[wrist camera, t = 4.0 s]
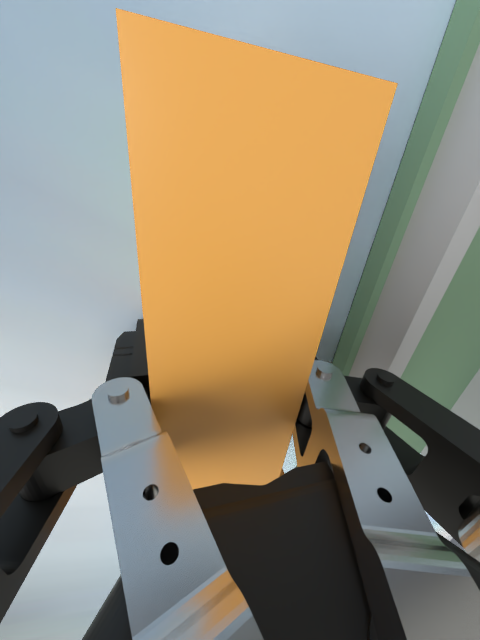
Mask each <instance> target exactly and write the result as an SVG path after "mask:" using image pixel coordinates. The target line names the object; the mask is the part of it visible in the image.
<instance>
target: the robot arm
mask: <svg viewBox="0 0 480 640" xmlns="http://www.w3.org/2000/svg"><path fill="white" fill-rule="evenodd" d="M392 415H393V416H394V417H395V418H396V419H398V420H399V421H400V422H402V423H403V424H404V425H406V426H407V427H408V428H409V429H411V430H412V431H413V432H415V433H416V434H417V435H418V436H420V437H421V438H422V439H423V440H424V441H425V443H426V445H427V447H428V453H427V454H426V456H423V455H421V454H420V453H418V452H417V451H416V450H415V449H413V448H412V447H411V446H410V445H409V444H407V443H406V442H405V441H404V440H403V439H401V438H400V437H399V436H398V435H396V434H395V433H394V432H393V431H392V430H390V429H389V428H388V427H387V426H386V425H387V423H388V421H389V420H390V418H391V416H392ZM293 439H294V446H295V453H296V459H297V467H296V468H294V469H292V470H291V471H289V472H287V473H285V474H284V475H282V476H280V477H278V478H277V479H275V480H273V481H271V482H270V483H268V484H266V485H247V484H231V483H221V484H216V485H212V486H207V487H202V488H197V489H192V487H191V485H190V482H189V480H188V478H187V475H186V473H185V471H184V469H183V466H182V464H181V462H180V459H179V457H178V455H177V452H176V450H175V448H174V446H173V443H172V441H171V439H170V437H169V435H168V433H167V432H166V431H163V432H162V431H161V429H160V426H159V424H158V421H157V419H156V417H155V414H154V412H153V409H152V407H151V398H150V387H149V376H148V364H147V353H146V342H145V331H144V319H138V321H137V328H136V331H131V332H124V333H123V334H122V335H121V336H120V337H119V338H118V339H117V340H116V344H115V349H114V352H113V356H112V359H111V363H110V367H109V370H108V374H107V378H106V382H105V383H103V384H102V385H100V386H99V387H98V388H97V389H96V390H95V392H94V393H93V395H92V399H90V400H88V401H86V402H84V403H82V404H79V405H77V406H74V407H71V408H68V409H64V410H61V411H58V410H57V408H56V407H55V406H54V405H52V404H50V403H45V402H36V403H30V404H26V405H23V406H20V407H17V408H15V409H13V410H11V411H9V412H8V413H6V414H5V415H3V416H2V417H0V623H1V621H2V619H3V617H4V616H5V614H6V612H7V610H8V609H9V607H10V605H11V603H12V601H13V600H14V598H15V596H16V594H17V592H18V591H19V589H20V587H21V585H22V583H23V582H24V580H25V578H26V576H27V574H28V573H29V571H30V569H31V567H32V565H33V564H34V562H35V560H36V558H37V556H38V555H39V553H40V551H41V549H42V547H43V546H44V544H45V542H46V540H47V538H48V537H49V535H50V533H51V531H52V529H53V528H54V526H55V524H56V522H57V520H58V519H59V517H60V515H61V513H62V511H63V510H64V508H65V506H66V504H67V502H68V501H69V499H70V497H71V495H72V493H73V492H74V490H75V488H76V486H77V484H79V483H81V482H84V481H86V480H88V479H90V478H92V477H94V476H96V475H98V474H101V473H103V474H104V480H105V486H106V491H107V497H108V503H109V509H110V514H111V520H112V526H113V531H114V537H115V543H116V549H117V554H118V560H119V566H120V572H121V575H120V577H119V579H118V580H117V582H116V584H115V585H114V587H113V589H112V590H111V592H110V594H109V595H108V597H107V599H106V600H105V602H104V604H103V605H102V607H101V609H100V610H99V612H98V614H97V615H96V617H95V619H94V620H93V622H92V624H91V625H90V627H89V629H88V630H87V632H86V634H85V635H84V637H83V639H82V640H480V430H479V429H478V428H476V427H475V426H473V425H472V424H470V423H469V422H467V421H466V420H464V419H462V418H461V417H459V416H458V415H456V414H455V413H453V412H452V411H450V410H449V409H447V408H445V407H444V406H442V405H441V404H439V403H438V402H436V401H435V400H433V399H432V398H430V397H428V396H427V395H425V394H424V393H422V392H421V391H419V390H418V389H416V388H415V387H413V386H411V385H410V384H408V383H407V382H405V381H404V380H402V379H401V378H399V377H398V376H396V375H394V374H393V373H391V372H389V371H386V370H383V369H379V368H369V369H367V370H366V371H365V373H364V375H363V378H358V377H351V376H344V375H343V373H342V371H341V370H340V369H339V368H338V367H336V366H335V365H333V364H331V363H329V362H326V361H321V360H318V359H317V358H316V357H315V360H314V363H313V366H312V370H311V373H310V376H309V380H308V383H307V386H306V390H305V393H304V396H303V400H302V403H301V406H300V410H299V413H298V416H297V420H296V423H295V426H294V430H293ZM424 510H425V511H426V512H427V513H428V514H429V515H430V516H431V517H432V518H433V519H434V520H435V521H436V522H437V523H438V524H439V525H440V526H441V527H443V528H444V529H445V530H446V531H447V532H448V533H449V534H450V535H451V536H452V537H453V538H454V539H455V540H456V541H457V542H458V543H459V544H460V545H461V546H462V547H463V548H464V549H465V550H464V551H463V550H461V549H460V548H459V547H457V546H456V545H454V544H453V543H451V542H450V541H449V540H447V539H446V538H444V537H443V536H441V535H440V534H438V533H437V532H435V530H434V528H433V526H432V524H431V522H430V520H429V518H428V516H427V514H426V513H425V511H424Z"/></svg>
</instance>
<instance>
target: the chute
mask: <svg viewBox="0 0 480 640" xmlns="http://www.w3.org/2000/svg"><path fill="white" fill-rule="evenodd" d="M116 17H117V28H118V39H119V50H120V62H121V73H122V84H123V95H124V106H125V118H126V129H127V140H128V151H129V163H130V174H131V185H132V196H133V207H134V219H135V230H136V241H137V252H138V263H139V275H140V286H141V297H142V308H143V319H144V331H145V342H146V353H147V364H148V376H149V387H150V398H151V407H152V409H153V412H154V414H155V417H156V419H157V421H158V424H159V426H160V429H161V431H162V432H163V431H166V432H167V433H168V435H169V437H170V439H171V441H172V443H173V446H174V448H175V450H176V452H177V455H178V457H179V459H180V462H181V464H182V466H183V469H184V471H185V473H186V475H187V478H188V480H189V482H190V485H191V487H192V489H197V488H202V487H207V486H212V485H216V484H221V483H231V484H247V485H266V484H268V483H270V482H271V481H273V480H275V479H277V478H278V477H280V476H282V475H284V472H283V469H282V466H283V463H284V459H285V456H286V453H287V449H288V446H289V443H290V440H291V436H292V433H293V430H294V426H295V423H296V420H297V416H298V413H299V410H300V406H301V403H302V400H303V396H304V393H305V390H306V386H307V383H308V380H309V376H310V373H311V370H312V366H313V363H314V360H315V356H316V353H317V350H318V347H319V343H320V340H321V337H322V333H323V330H324V327H325V323H326V320H327V317H328V313H329V310H330V307H331V303H332V300H333V297H334V293H335V290H336V287H337V283H338V280H339V277H340V273H341V270H342V267H343V264H344V260H345V257H346V254H347V250H348V247H349V244H350V240H351V237H352V234H353V230H354V227H355V224H356V220H357V217H358V214H359V210H360V207H361V204H362V200H363V197H364V194H365V190H366V187H367V184H368V181H369V177H370V174H371V171H372V167H373V164H374V161H375V157H376V154H377V151H378V147H379V144H380V141H381V137H382V134H383V131H384V127H385V124H386V121H387V117H388V114H389V111H390V107H391V104H392V101H393V98H394V94H395V91H396V88H397V84H398V83H394V82H390V81H387V80H383V79H379V78H375V77H372V76H368V75H364V74H360V73H357V72H353V71H349V70H345V69H342V68H338V67H334V66H330V65H327V64H323V63H319V62H316V61H312V60H308V59H304V58H301V57H297V56H293V55H289V54H286V53H282V52H278V51H274V50H271V49H267V48H263V47H259V46H256V45H252V44H248V43H244V42H241V41H237V40H233V39H229V38H226V37H222V36H218V35H214V34H211V33H207V32H203V31H199V30H196V29H192V28H188V27H184V26H181V25H177V24H173V23H170V22H166V21H162V20H158V19H155V18H151V17H147V16H143V15H140V14H136V13H132V12H128V11H125V10H121V9H117V8H116Z"/></svg>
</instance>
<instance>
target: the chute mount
mask: <svg viewBox="0 0 480 640" xmlns="http://www.w3.org/2000/svg"><path fill="white" fill-rule="evenodd" d="M332 364H333V365H335V366H336V367H338V368H339V369H340V370H341V371H342V373H343V375H344V376H351V377H358V378H363V375H364V373H365V371H366V370H367V369H369V368H379V369H383V370H386V371H389V372H391V373H393V374H394V375H396V376H398V377H399V378H401V379H402V380H404V381H405V382H407V383H408V384H410V385H411V386H413V387H415V388H416V389H418V390H419V391H421V392H422V393H424V394H425V395H427V396H428V397H430V398H432V399H433V400H435V401H436V402H438V403H439V404H441V405H442V406H444V407H445V408H447V409H449V410H450V411H452V412H453V413H455V414H456V415H458V416H459V417H461V418H462V419H464V420H466V421H467V422H469V423H470V424H472V425H473V426H475V427H476V428H478V429H479V430H480V0H456V3H455V6H454V9H453V12H452V15H451V18H450V21H449V24H448V27H447V29H446V32H445V35H444V38H443V41H442V44H441V47H440V50H439V53H438V56H437V59H436V61H435V64H434V67H433V70H432V73H431V76H430V79H429V82H428V85H427V88H426V91H425V94H424V96H423V99H422V102H421V105H420V108H419V111H418V114H417V117H416V120H415V123H414V126H413V128H412V131H411V134H410V137H409V140H408V143H407V146H406V149H405V152H404V155H403V158H402V161H401V163H400V166H399V169H398V172H397V175H396V178H395V181H394V184H393V187H392V190H391V193H390V195H389V198H388V201H387V204H386V207H385V210H384V213H383V216H382V219H381V222H380V225H379V228H378V230H377V233H376V236H375V239H374V242H373V245H372V248H371V251H370V254H369V257H368V260H367V262H366V265H365V268H364V271H363V274H362V277H361V280H360V283H359V286H358V289H357V292H356V294H355V297H354V300H353V303H352V306H351V309H350V312H349V315H348V318H347V321H346V324H345V327H344V329H343V332H342V335H341V338H340V341H339V344H338V347H337V350H336V353H335V356H334V359H333V361H332ZM386 426H387V427H388V428H389V429H390V430H392V431H393V432H394V433H395V434H396V435H398V436H399V437H400V438H401V439H403V440H404V441H405V442H406V443H407V444H409V445H410V446H411V447H412V448H413V449H415V450H416V451H417V452H418V453H421V454H422V455H423V456H426V454H427V453H428V447H427V445H426V443H425V441H424V440H423V439H422V438H421V437H420V436H418V435H417V434H416V433H415V432H413V431H412V430H411V429H409V428H408V427H407V426H406V425H404V424H403V423H402V422H400V421H399V420H398V419H396V418H395V417H394V416H393V415H392V416H391V418H390V420H389V421H388V423H387V425H386ZM296 467H297V466H296Z"/></svg>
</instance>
